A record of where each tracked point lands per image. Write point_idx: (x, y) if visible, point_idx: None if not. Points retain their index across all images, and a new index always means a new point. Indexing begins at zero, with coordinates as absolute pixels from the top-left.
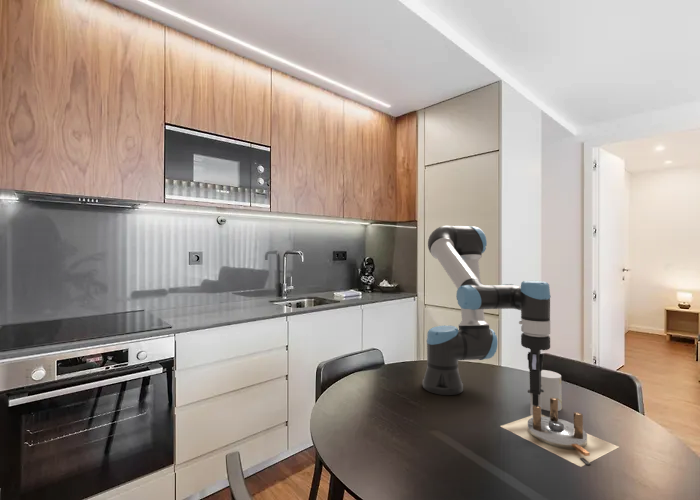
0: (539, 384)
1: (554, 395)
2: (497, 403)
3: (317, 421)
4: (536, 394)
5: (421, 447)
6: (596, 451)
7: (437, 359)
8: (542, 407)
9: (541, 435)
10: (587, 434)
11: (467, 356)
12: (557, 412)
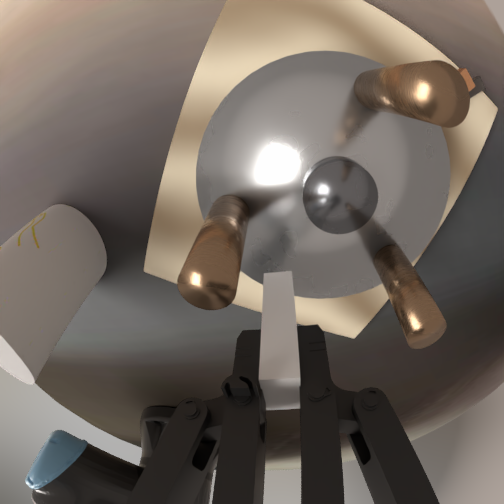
0: (415, 460)
1: (39, 264)
2: (156, 357)
3: (415, 438)
4: (335, 391)
5: (460, 374)
6: (371, 29)
7: (208, 493)
8: (94, 267)
9: (430, 235)
10: (207, 64)
11: (134, 477)
12: (230, 217)
